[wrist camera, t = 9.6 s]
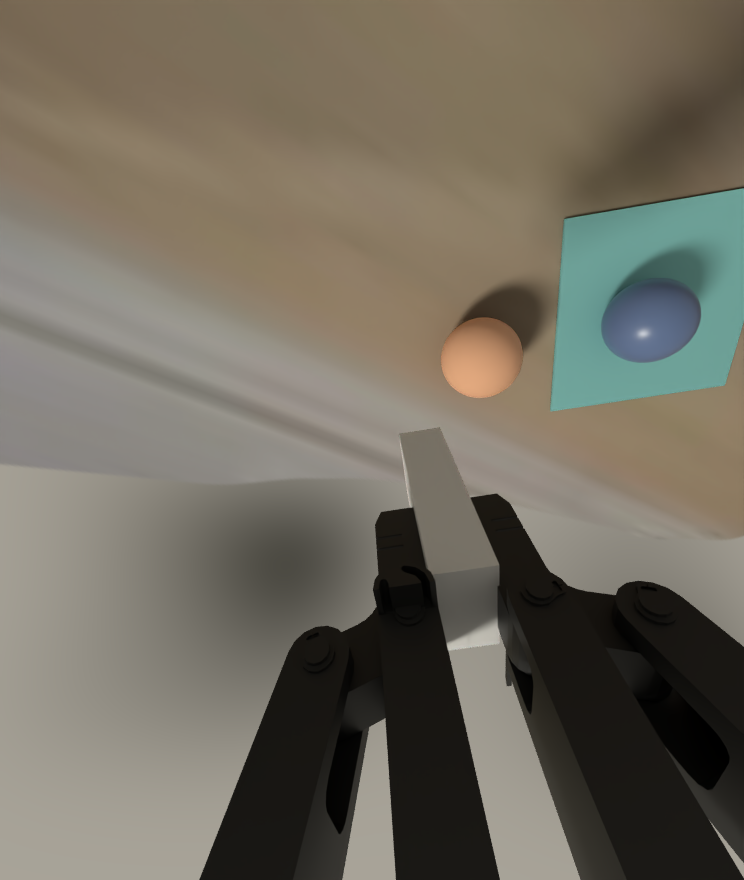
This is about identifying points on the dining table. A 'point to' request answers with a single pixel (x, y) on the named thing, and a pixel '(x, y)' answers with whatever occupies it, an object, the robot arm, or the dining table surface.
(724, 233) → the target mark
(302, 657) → the robot arm
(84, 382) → the dining table surface
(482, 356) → the orange sphere
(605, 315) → the object ball
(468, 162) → the dining table surface
